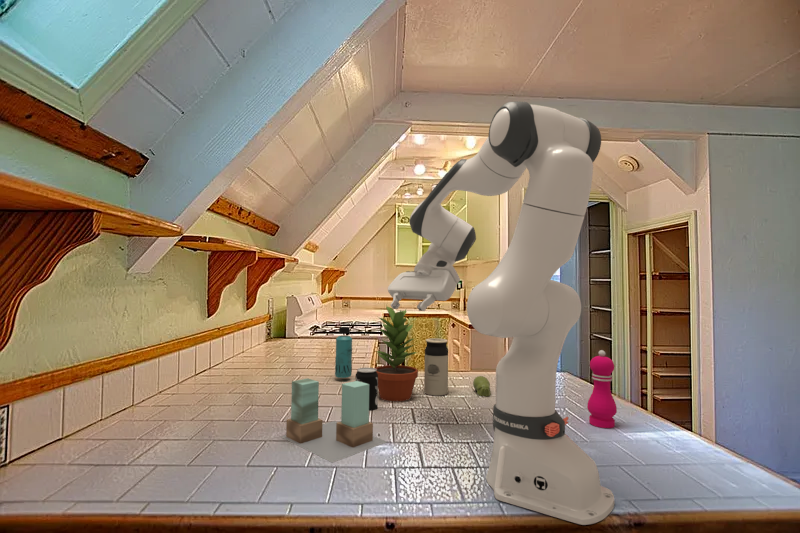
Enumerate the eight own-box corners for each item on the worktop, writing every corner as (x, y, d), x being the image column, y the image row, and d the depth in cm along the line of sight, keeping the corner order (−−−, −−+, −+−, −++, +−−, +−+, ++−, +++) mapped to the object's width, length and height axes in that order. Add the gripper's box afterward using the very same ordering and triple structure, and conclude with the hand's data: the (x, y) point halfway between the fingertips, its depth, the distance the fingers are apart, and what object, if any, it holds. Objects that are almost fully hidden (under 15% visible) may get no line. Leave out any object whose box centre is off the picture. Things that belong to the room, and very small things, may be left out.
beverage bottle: (332, 381, 159) (333, 327, 160) (337, 377, 166) (338, 325, 166) (349, 382, 158) (350, 328, 159) (354, 378, 165) (354, 326, 165)
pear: (487, 373, 151) (494, 385, 141) (486, 388, 152) (493, 400, 142) (471, 373, 151) (477, 385, 141) (471, 387, 151) (476, 400, 142)
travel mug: (432, 388, 151) (432, 337, 151) (452, 392, 146) (452, 339, 147) (419, 393, 144) (420, 340, 145) (440, 397, 140) (440, 342, 140)
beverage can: (374, 415, 121) (374, 372, 121) (351, 413, 122) (352, 371, 123) (379, 408, 127) (380, 367, 128) (358, 406, 129) (359, 366, 129)
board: (387, 446, 99) (387, 441, 99) (332, 467, 87) (332, 462, 87) (334, 424, 113) (334, 420, 113) (280, 440, 101) (280, 436, 101)
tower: (322, 436, 101) (323, 381, 102) (300, 443, 97) (301, 385, 97) (307, 430, 105) (308, 377, 106) (286, 436, 101) (287, 381, 101)
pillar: (368, 423, 99) (369, 384, 100) (353, 427, 96) (354, 387, 96) (356, 418, 103) (356, 380, 103) (341, 422, 99) (341, 384, 100)
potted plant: (412, 405, 130) (413, 307, 131) (366, 400, 135) (367, 305, 136) (425, 393, 144) (426, 304, 145) (383, 389, 149) (384, 303, 150)
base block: (372, 440, 99) (372, 423, 100) (352, 447, 95) (353, 429, 95) (355, 433, 104) (356, 417, 104) (336, 440, 99) (336, 422, 99)
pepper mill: (620, 424, 116) (620, 350, 117) (611, 431, 111) (611, 353, 111) (592, 418, 121) (592, 347, 121) (583, 424, 116) (583, 350, 116)
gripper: (398, 264, 124) (373, 298, 117) (455, 262, 110) (431, 301, 103) (408, 279, 127) (384, 314, 120) (465, 280, 113) (442, 319, 106)
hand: (406, 308), depth 111 cm, fingers open, 8 cm apart
